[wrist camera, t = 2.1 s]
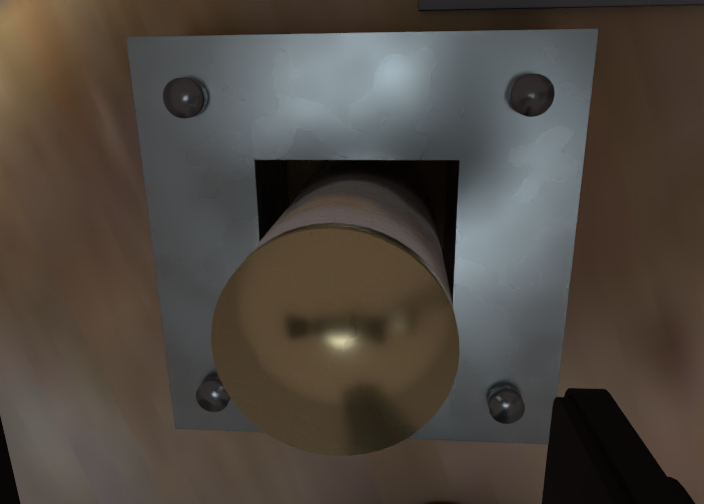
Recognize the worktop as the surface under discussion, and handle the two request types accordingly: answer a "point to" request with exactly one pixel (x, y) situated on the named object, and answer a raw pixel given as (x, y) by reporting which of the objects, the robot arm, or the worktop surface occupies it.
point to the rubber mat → (543, 4)
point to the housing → (375, 144)
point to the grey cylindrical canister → (342, 315)
